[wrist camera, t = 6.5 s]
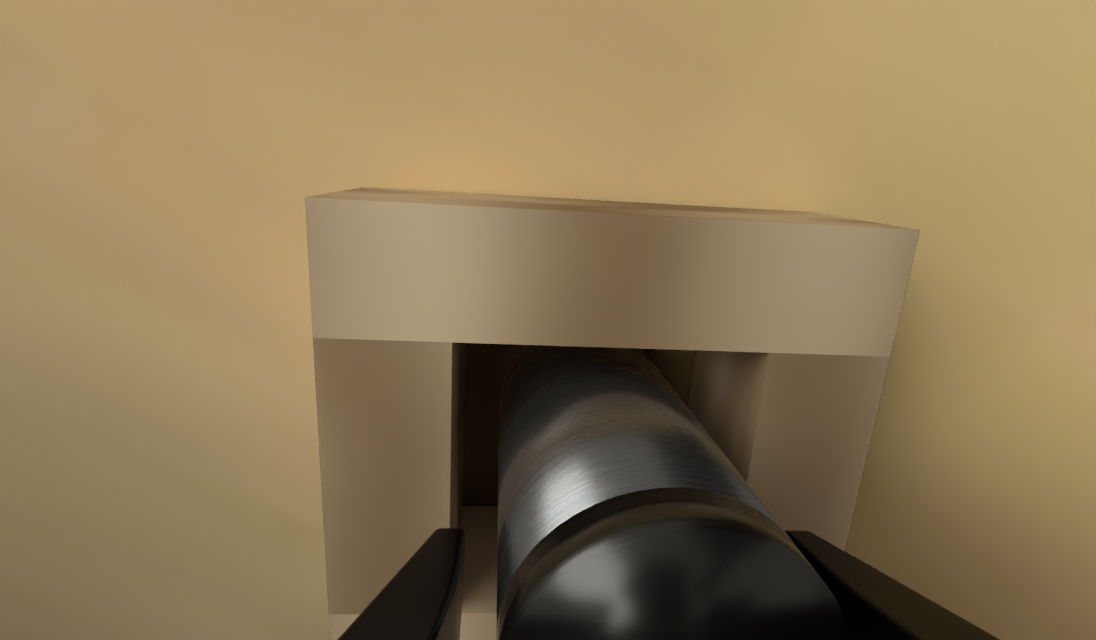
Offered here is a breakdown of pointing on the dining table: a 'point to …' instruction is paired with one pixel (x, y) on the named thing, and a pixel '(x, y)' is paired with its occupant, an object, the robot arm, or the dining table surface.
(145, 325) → the dining table surface
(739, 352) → the dock block
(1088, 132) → the dining table surface
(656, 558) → the black cylinder
